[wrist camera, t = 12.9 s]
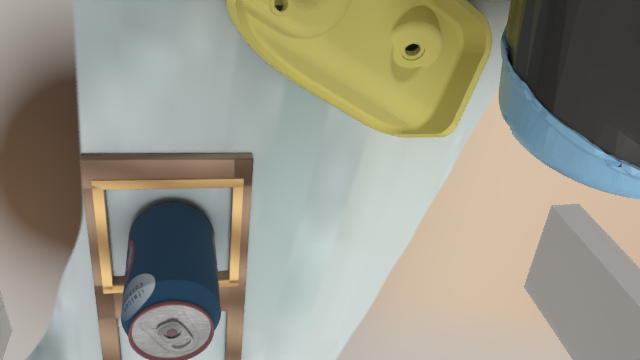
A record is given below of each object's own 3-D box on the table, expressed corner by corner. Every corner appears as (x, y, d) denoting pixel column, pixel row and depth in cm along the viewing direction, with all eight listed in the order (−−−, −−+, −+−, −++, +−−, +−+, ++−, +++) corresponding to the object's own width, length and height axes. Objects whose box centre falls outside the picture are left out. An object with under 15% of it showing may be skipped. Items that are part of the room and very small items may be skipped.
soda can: (113, 218, 49) (97, 325, 39) (188, 182, 48) (191, 282, 38) (157, 271, 53) (154, 382, 43) (227, 239, 52) (239, 343, 42)
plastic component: (501, 29, 44) (445, 150, 44) (436, 31, 50) (387, 137, 50) (292, -149, 34) (217, 8, 33) (242, -119, 40) (178, 14, 39)
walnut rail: (81, 153, 45) (79, 161, 44) (251, 153, 48) (253, 160, 47) (109, 399, 60) (108, 409, 59) (237, 387, 63) (238, 397, 62)
